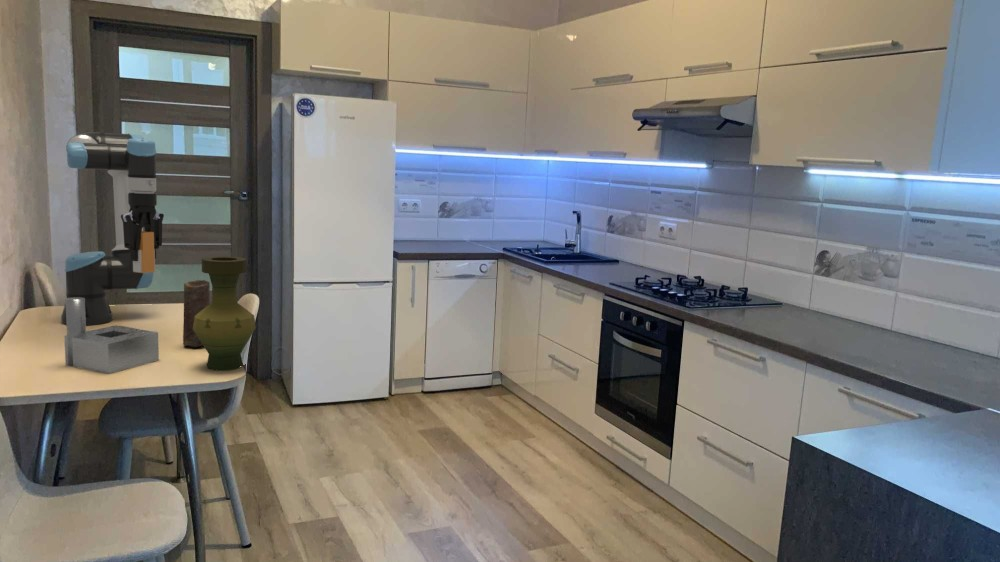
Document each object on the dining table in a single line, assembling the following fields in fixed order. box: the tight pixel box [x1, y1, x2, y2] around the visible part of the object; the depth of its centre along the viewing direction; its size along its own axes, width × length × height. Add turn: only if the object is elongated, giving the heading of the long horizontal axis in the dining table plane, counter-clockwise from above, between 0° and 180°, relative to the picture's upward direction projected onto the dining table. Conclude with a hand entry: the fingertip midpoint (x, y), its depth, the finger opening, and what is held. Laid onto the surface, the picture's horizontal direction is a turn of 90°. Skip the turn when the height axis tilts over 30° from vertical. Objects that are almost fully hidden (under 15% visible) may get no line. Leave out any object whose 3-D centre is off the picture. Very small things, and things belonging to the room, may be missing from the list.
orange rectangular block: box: [138, 230, 156, 273], centre depth 213 cm, size 4×4×12 cm
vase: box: [193, 255, 257, 372], centre depth 197 cm, size 16×16×30 cm
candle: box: [182, 279, 211, 348], centre depth 216 cm, size 8×7×20 cm
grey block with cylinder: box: [63, 297, 160, 375], centre depth 195 cm, size 16×16×18 cm
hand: (144, 270), depth 214 cm, fingers closed on orange rectangular block, 4 cm apart
